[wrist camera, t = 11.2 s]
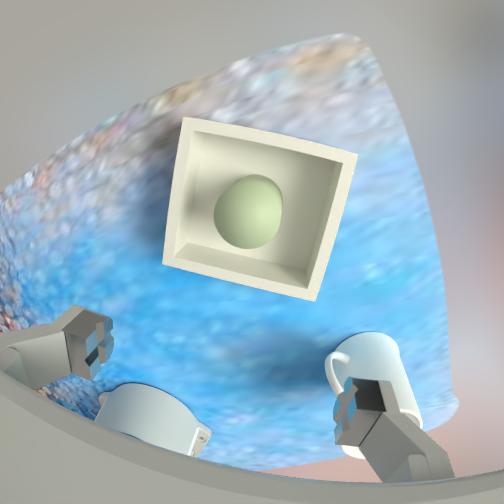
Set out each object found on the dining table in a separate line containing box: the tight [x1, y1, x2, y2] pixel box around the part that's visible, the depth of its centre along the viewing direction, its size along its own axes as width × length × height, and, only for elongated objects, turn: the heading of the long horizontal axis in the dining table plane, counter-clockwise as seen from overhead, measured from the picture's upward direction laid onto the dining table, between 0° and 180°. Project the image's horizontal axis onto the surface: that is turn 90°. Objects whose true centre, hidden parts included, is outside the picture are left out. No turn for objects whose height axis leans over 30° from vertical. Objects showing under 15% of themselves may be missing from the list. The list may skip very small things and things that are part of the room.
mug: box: [325, 332, 423, 459], centre depth 29 cm, size 12×8×12 cm
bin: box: [162, 117, 358, 301], centre depth 28 cm, size 13×14×5 cm
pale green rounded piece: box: [214, 174, 283, 249], centre depth 27 cm, size 5×5×6 cm
